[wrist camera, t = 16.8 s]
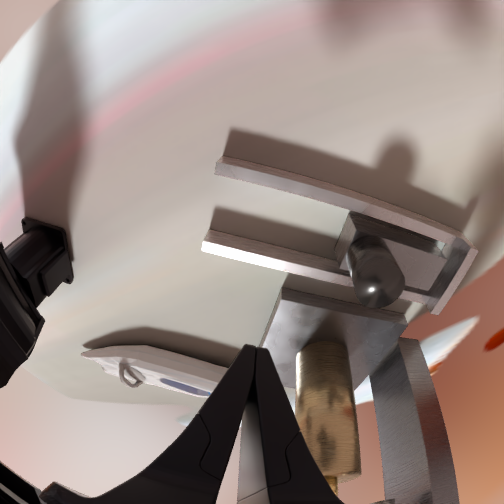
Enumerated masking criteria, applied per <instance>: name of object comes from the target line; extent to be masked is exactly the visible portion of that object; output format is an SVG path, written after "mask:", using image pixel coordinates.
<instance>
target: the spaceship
mask: <svg viewBox="0 0 504 504" xmlns="http://www.w3.org/2000/svg"><path fill="white" fill-rule="evenodd" d="M81 356H82V357H84V358H87V359H90V360H93V361H96V362H98V363H99V364H100V365H101V366H102V368H103V370H104V371H105V372H107V373H108V374H111V375H115V376H118V377H120V379H121V381H122V383H123V384H124V385H126V386H127V387H138V386H139V385H140V384H142V383H146V384H151V385H156V386H160V387H163V388H166V389H170V390H173V391H178V392H182V393H185V394H189V395H193V396H197V397H209V396H210V394H211V393H212V392H213V390H214V389H215V387H216V386H217V384H218V383H219V381H220V380H221V379H222V377H223V376H224V374H225V373H226V371H227V370H228V368H226V367H222V366H218V365H214V364H211V363H208V362H205V361H202V360H198V359H195V358H192V357H188V356H185V355H182V354H178V353H175V352H171V351H167V350H163V349H159V348H155V347H151V346H148V345H136V346H109V347H105V348H99V349H93V350H89V351H86V352H83V353H81ZM127 379H130V380H134V381H137V382H136V383H135V384H131V383H130V382H129V381H128V380H127Z"/></svg>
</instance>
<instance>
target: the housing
mask: <svg viewBox="0 0 504 504" xmlns="http://www.w3.org/2000/svg"><path fill="white" fill-rule="evenodd" d="M295 417H296V420H297V422H298V425H299V427H300V431H301V432H302V434H303V437H304V439H305V441H306V444H307V446H308V448H309V450H310V452H311V454H312V456H313V458H314V460H315V462H316V463H317V465H318V467H319V469H320V470H321V472H322V474H323V475H324V477H325V479H326V480H327V482H328V484H329V485H330V487H331V489H332V490H333V492H334V493H335V494H336V496H338V483H343V482H346V481H350V480H353V479H355V478H358V477H359V476H360V475H361V459H360V445H359V434H358V423H357V414H356V405H355V396H354V389H353V381H352V374H351V367H350V360H349V354H348V351H347V349H346V348H345V347H344V346H343V345H341V344H339V343H336V342H331V341H322V342H316V343H313V344H310V345H308V346H306V347H304V348H303V349H302V350H300V352H299V353H298V354H297V357H296V399H295ZM300 431H299V432H300Z"/></svg>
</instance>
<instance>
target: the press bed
mask: <svg viewBox="0 0 504 504" xmlns="http://www.w3.org/2000/svg"><path fill="white" fill-rule="evenodd" d="M407 326H408V323H407V321H406V318H405V316H404V314H402V313H397V312H392V311H387V310H382V309H378V308H370V307H366V306H363V305H358V304H354V303H349V302H344V301H340V300H335V299H331V298H326V297H322V296H317V295H313V294H308V293H304V292H300V291H295V290H291V289H287V288H281V290H280V293H279V296H278V299H277V301H276V304H275V307H274V309H273V312H272V314H271V317H270V320H269V322H268V325H267V327H266V330H265V333H264V335H263V338H262V340H261V343H260V345H259V347H263V348H267V349H268V350H269V351H270V354H271V357H272V359H273V362H274V364H275V367H276V369H277V372H278V375H279V377H280V380H281V382H282V385H283V387H289V388H295V389H296V357H297V354H298V353H299V352H300V350H302V349H303V348H304V347H306V346H308V345H310V344H313V343H316V342H322V341H331V342H336V343H339V344H341V345H343V346H344V347H345V348H346V349H347V351H348V354H349V360H350V367H351V374H352V381H353V389H354V390H355V389H356V388H357V387H358V386H359V385H360V384H361V383H362V382H363V381H364V379H365V378H366V377H367V376H368V375H369V377H370V382H371V388H372V393H373V399H374V405H375V412H376V418H377V425H378V432H379V440H380V448H381V457H382V467H383V478H384V491H385V500H383V501H379V502H375V503H371V504H459V496H458V489H457V482H456V475H455V469H454V464H453V459H452V454H451V449H450V444H449V440H448V435H447V431H446V427H445V423H444V420H443V416H442V412H441V409H440V405H439V401H438V398H437V395H436V392H435V388H434V385H433V382H432V379H431V376H430V372H429V370H428V367H427V364H426V361H425V358H424V355H423V352H422V350H421V347H420V344H419V342H418V340H416V339H409V338H402V337H400V335H401V334H402V333H403V331H404V330H405V329H406V327H407Z"/></svg>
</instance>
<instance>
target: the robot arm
mask: <svg viewBox="0 0 504 504" xmlns="http://www.w3.org/2000/svg"><path fill="white" fill-rule="evenodd" d="M22 228H23V234H22V235H20V236H19V237H18V238H17V239H16V240H14V241H13V242H12V243H11V244H9V245H8V246H7V247H6V248H5V249H4V246H3V244H2V242H0V388H2V387H4V386H6V384H7V383H8V381H9V379H10V378H11V376H12V375H13V373H14V372H15V370H16V369H17V368H18V367H19V366H20V365H21V364H22V363H24V362H25V361H26V360H27V359H28V357H29V356H30V355H31V353H32V351H33V349H34V346H35V344H36V341H37V339H38V336H39V334H40V332H41V329H42V327H43V325H44V322H45V319H44V318H43V316H41V315H40V313H39V312H38V310H37V309H36V308H37V307H38V306H39V305H40V303H41V302H42V301H43V300H44V299H45V297H46V296H48V297H49V296H50V295H51V294H52V293H53V292H54V291H55V290H56V289H57V287H58V286H59V285H60V284H61V283H62V282H65V283H67V284H71V283H72V282H73V276H72V271H71V266H70V260H69V254H68V247H67V241H66V233H65V231H64V230H63V229H62V228H59V227H56V226H53V225H49V224H46V223H43V222H39V221H36V220H33V219H30V218H27V217H25V218H23V219H22ZM241 420H242V427H241V444H240V461H239V478H238V497H237V501H238V502H237V504H344V503H343V502H342V501H341V500H340V499H339V498H338V497H337V496H336V494H335V493H334V492H333V490H332V489H331V487H330V485H329V484H328V482H327V480H326V479H325V477H324V475H323V474H322V472H321V470H320V469H319V467H318V465H317V463H316V462H315V460H314V458H313V456H312V454H311V452H310V450H309V448H308V446H307V444H306V441H305V439H304V437H303V434H302V432H301V431H300V427H299V425H298V422H297V420H296V417H295V415H294V412H293V410H292V407H291V405H290V402H289V400H288V397H287V395H286V392H285V390H284V387H283V385H282V382H281V380H280V377H279V375H278V372H277V369H276V367H275V364H274V362H273V359H272V357H271V354H270V351H269V350H268V349H267V348H263V347H257V348H256V346H254V345H249V344H245V345H244V346H243V347H242V349H241V350H240V352H239V353H238V355H237V356H236V358H235V359H234V361H233V362H232V364H231V365H230V367H229V368H228V370H227V371H226V373H225V374H224V376H223V377H222V379H221V380H220V381H219V383H218V384H217V386H216V387H215V389H214V390H213V392H212V393H211V394H210V396H209V397H208V399H207V400H206V402H205V403H204V404H203V406H202V407H201V409H200V410H199V411H198V414H196V415H195V417H194V418H193V420H192V421H191V422H190V424H189V425H188V426H187V427H186V429H185V430H184V431H183V432H182V433H181V435H180V436H179V437H178V438H177V439H176V440H175V441H174V442H173V443H172V444H171V445H170V446H169V447H168V448H167V449H166V450H165V451H164V452H163V453H162V454H160V455H159V457H157V458H156V459H155V460H154V461H153V462H152V463H151V464H150V465H149V466H147V467H146V468H145V469H144V470H143V471H141V472H140V473H139V474H137V475H136V476H134V477H133V478H131V479H129V480H128V481H126V482H124V483H122V484H121V485H119V486H117V487H115V488H113V489H111V490H110V491H108V492H106V493H104V494H102V495H100V496H98V497H93V498H91V497H89V496H86V495H84V494H81V493H79V492H77V491H75V490H72V489H70V488H68V487H66V486H64V485H61V484H59V483H57V482H52V483H51V484H50V485H49V486H48V487H47V488H45V489H44V490H43V491H42V492H41V490H40V489H38V488H37V487H35V486H34V485H32V484H30V483H29V482H28V481H26V480H25V479H23V478H22V477H21V476H19V475H18V474H16V473H15V472H14V471H12V470H11V469H10V468H8V467H7V466H6V465H4V464H3V463H2V462H1V461H0V504H216V500H217V496H218V493H219V489H220V486H221V483H222V480H223V477H224V474H225V471H226V467H227V465H228V462H229V458H230V455H231V452H232V449H233V446H234V442H235V439H236V436H237V433H238V430H239V426H240V423H241ZM299 431H300V432H299Z"/></svg>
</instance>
